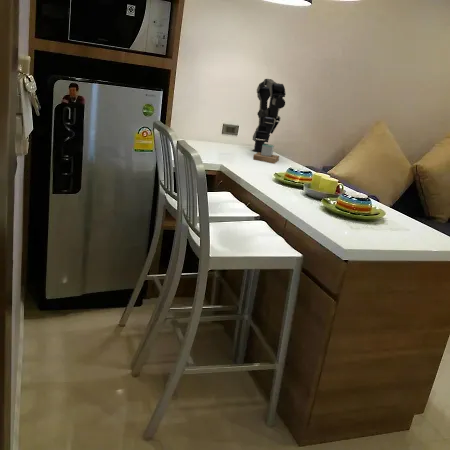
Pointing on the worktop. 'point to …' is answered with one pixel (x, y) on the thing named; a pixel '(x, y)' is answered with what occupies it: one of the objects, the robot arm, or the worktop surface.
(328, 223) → the worktop surface
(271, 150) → the block
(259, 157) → the walnut box
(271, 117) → the robot arm
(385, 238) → the worktop surface
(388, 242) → the worktop surface
